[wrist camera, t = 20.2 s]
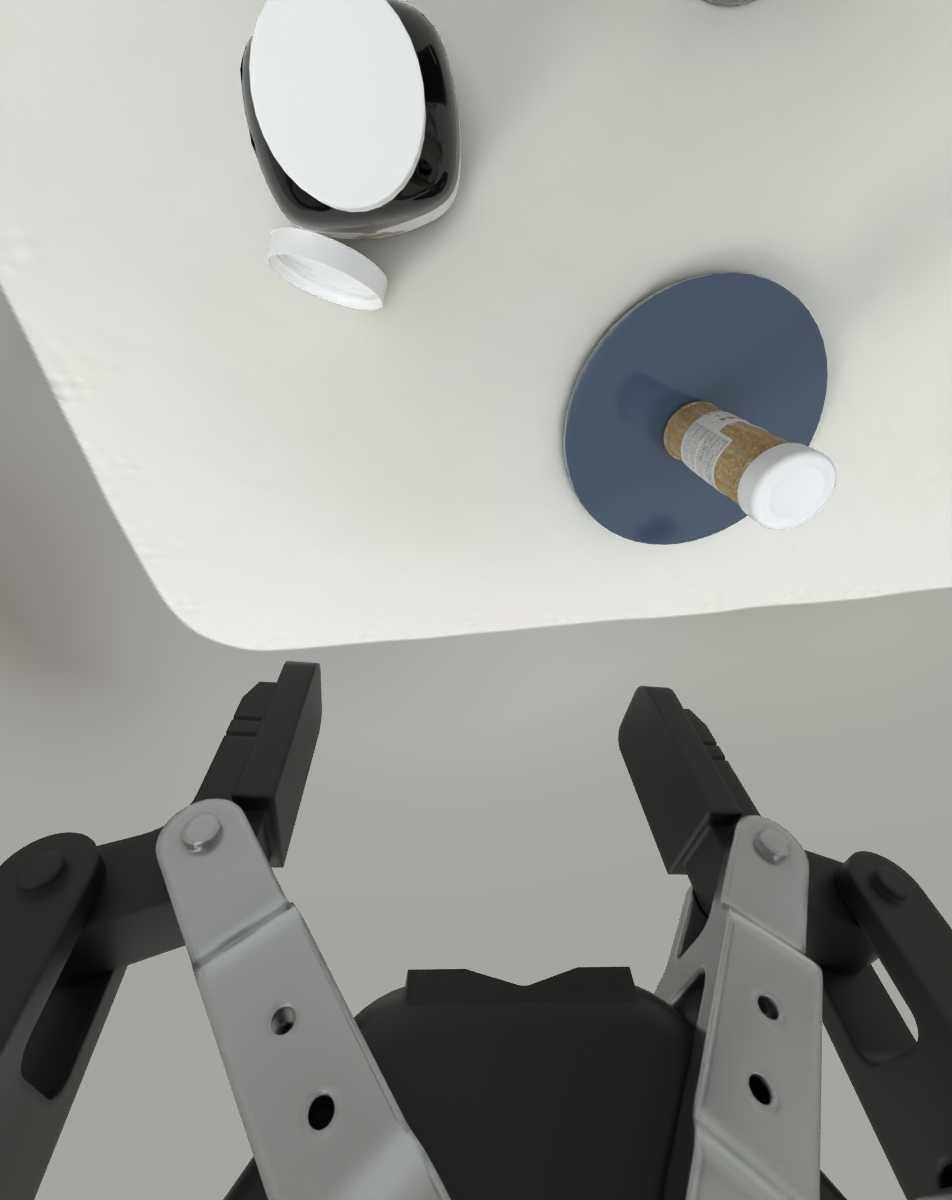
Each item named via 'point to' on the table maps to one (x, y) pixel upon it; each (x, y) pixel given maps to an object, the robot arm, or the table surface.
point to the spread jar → (349, 135)
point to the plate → (687, 399)
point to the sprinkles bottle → (751, 465)
